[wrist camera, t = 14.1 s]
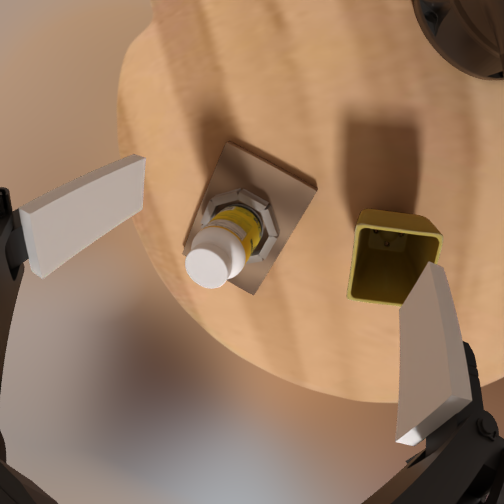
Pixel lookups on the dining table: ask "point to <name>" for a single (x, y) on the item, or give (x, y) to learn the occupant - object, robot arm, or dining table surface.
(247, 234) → the pill bottle
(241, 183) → the collar base
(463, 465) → the robot arm
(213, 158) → the dining table surface
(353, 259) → the flower pot
